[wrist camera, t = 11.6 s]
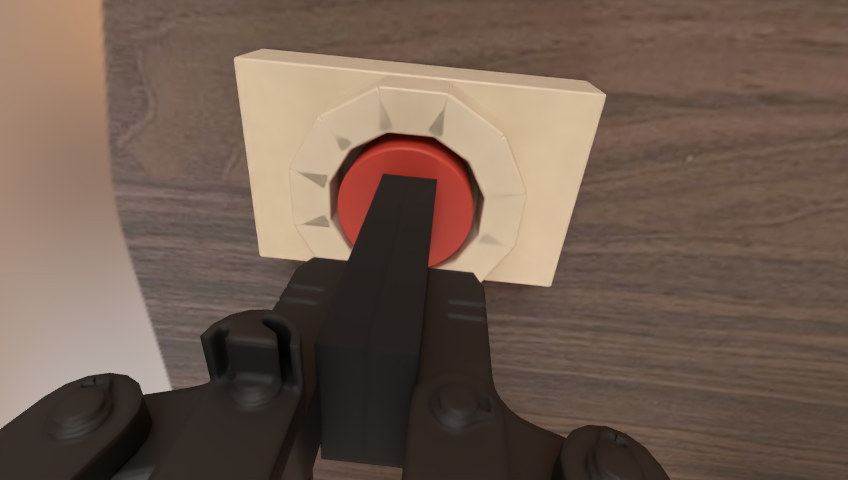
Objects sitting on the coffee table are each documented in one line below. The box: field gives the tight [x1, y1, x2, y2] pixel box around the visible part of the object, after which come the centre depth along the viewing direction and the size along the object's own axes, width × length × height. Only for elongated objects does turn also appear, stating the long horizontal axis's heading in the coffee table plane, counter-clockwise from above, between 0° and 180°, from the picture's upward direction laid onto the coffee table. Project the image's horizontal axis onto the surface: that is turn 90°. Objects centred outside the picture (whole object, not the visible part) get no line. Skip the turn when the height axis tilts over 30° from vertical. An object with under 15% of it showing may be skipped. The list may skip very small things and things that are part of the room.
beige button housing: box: [234, 49, 606, 287], centre depth 14 cm, size 11×7×4 cm, turn 85°
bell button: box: [337, 133, 473, 267], centre depth 13 cm, size 4×4×2 cm
